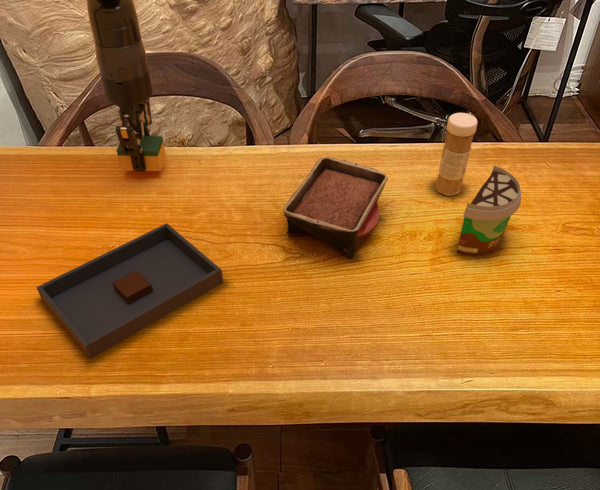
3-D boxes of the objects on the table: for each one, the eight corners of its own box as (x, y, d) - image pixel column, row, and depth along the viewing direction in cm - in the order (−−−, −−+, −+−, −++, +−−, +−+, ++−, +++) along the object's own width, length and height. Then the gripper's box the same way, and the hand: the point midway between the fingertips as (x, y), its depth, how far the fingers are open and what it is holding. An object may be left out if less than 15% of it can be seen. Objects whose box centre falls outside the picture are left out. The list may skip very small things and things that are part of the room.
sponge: (121, 170, 103) (116, 150, 100) (127, 155, 107) (122, 135, 104) (160, 171, 103) (157, 151, 100) (165, 155, 107) (162, 136, 104)
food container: (491, 272, 87) (508, 219, 80) (452, 258, 89) (466, 205, 82) (517, 228, 94) (535, 175, 87) (480, 215, 97) (495, 163, 90)
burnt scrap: (128, 305, 82) (126, 297, 81) (114, 290, 84) (111, 282, 83) (153, 291, 84) (151, 284, 83) (138, 277, 86) (136, 269, 85)
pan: (91, 361, 76) (85, 346, 73) (43, 302, 83) (35, 287, 81) (223, 285, 85) (221, 269, 83) (169, 238, 93) (166, 222, 91)
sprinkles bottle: (444, 178, 104) (458, 108, 95) (466, 189, 102) (483, 118, 92) (429, 189, 102) (443, 118, 92) (451, 200, 100) (468, 129, 90)
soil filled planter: (393, 223, 99) (399, 167, 93) (350, 275, 86) (354, 213, 80) (316, 205, 104) (317, 151, 98) (265, 250, 91) (263, 191, 85)
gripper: (111, 48, 97) (131, 140, 110) (87, 88, 87) (112, 184, 100) (156, 49, 97) (171, 140, 110) (137, 89, 87) (156, 185, 99)
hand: (143, 161), depth 104 cm, fingers closed on sponge, 5 cm apart
